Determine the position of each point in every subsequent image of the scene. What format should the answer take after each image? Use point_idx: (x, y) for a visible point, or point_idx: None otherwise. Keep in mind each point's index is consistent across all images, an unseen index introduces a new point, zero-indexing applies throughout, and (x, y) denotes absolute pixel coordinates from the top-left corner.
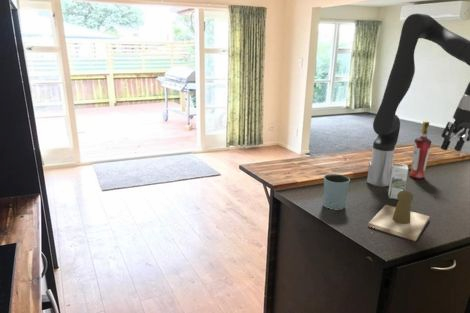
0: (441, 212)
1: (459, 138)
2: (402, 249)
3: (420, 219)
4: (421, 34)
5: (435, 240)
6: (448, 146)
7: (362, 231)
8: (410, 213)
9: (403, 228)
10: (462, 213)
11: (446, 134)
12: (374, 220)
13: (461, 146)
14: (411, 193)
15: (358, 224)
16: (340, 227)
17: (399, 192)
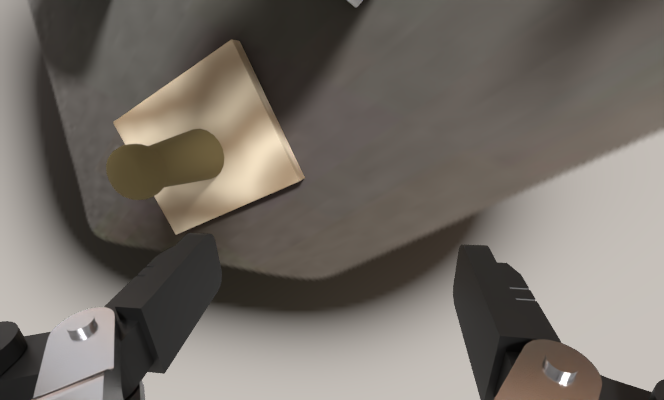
0: (399, 163)
1: (503, 388)
2: (138, 234)
3: (255, 180)
4: None
5: (228, 252)
6: (199, 315)
7: (100, 134)
8: (195, 180)
9: (175, 191)
10: (465, 206)
11: (42, 377)
12: (133, 119)
13: (467, 348)
14: (141, 188)
15: (107, 99)
16: (62, 91)
17: (109, 157)
